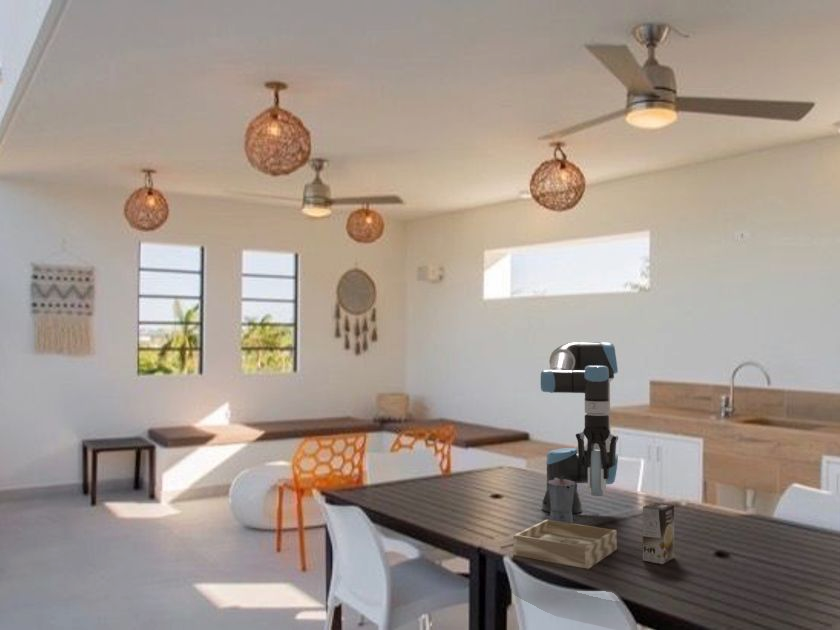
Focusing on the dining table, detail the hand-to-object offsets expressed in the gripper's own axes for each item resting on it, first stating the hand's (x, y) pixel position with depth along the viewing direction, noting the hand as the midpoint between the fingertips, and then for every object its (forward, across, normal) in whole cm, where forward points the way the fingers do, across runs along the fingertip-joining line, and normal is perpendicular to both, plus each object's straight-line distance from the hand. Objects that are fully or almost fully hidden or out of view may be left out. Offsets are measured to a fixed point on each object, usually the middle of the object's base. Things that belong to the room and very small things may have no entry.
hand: (596, 488), depth 240 cm
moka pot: (+19, -17, +12) cm, 28 cm away
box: (+19, -7, -10) cm, 22 cm away
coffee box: (+19, +20, -1) cm, 27 cm away
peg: (+2, 0, 0) cm, 2 cm away
